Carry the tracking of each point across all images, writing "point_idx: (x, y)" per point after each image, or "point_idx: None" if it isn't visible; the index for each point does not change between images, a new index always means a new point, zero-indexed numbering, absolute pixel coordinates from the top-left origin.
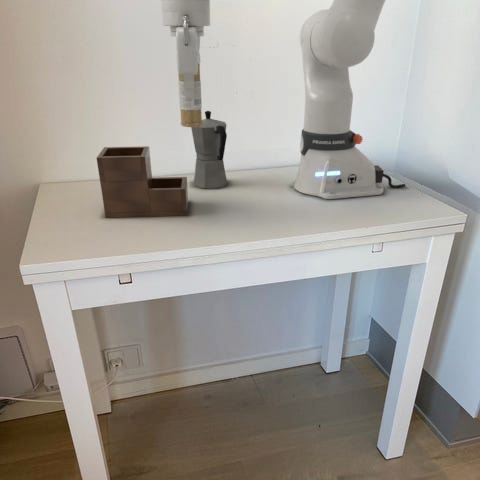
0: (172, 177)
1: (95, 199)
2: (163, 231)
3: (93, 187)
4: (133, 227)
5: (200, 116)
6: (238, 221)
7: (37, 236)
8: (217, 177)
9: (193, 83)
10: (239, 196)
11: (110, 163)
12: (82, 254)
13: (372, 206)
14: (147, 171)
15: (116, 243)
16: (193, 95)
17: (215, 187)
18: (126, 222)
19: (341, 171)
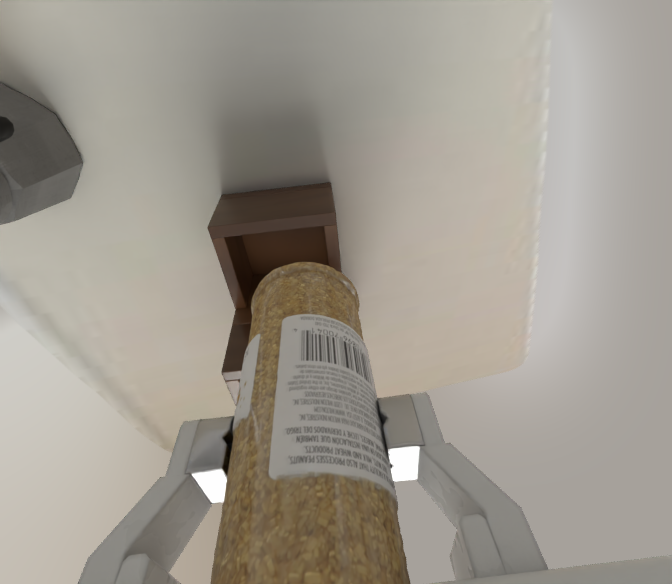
0: (224, 263)
1: None
2: (430, 218)
3: (170, 391)
4: (400, 277)
5: (325, 291)
6: (378, 14)
7: (423, 386)
8: (33, 125)
9: (486, 479)
10: (118, 19)
11: None
12: (509, 319)
13: None
14: None
15: (476, 286)
16: (431, 405)
17: (61, 125)
18: (371, 295)
19: None
